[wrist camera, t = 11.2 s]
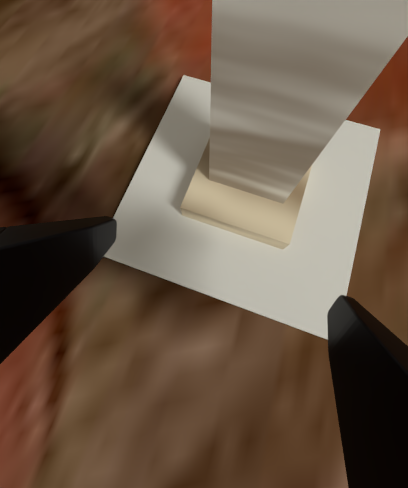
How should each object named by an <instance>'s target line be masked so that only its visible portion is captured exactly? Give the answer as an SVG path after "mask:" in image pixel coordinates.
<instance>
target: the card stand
mask: <svg viewBox="0 0 408 488" xmlns="http://www.w3.org/2000/svg"><path fill="white" fill-rule="evenodd" d="M407 36H408V0H212V50H211V103H210V138H209V140H208V143H207V145H206V147H205V150H204V152H203V154H202V157H201V159H200V162H199V164H198V166H197V169H196V171H195V173H194V176H193V178H192V180H191V183H190V185H189V188H188V190H187V192H186V195H185V197H184V199H183V202H182V204H181V206H180V209H181V213H182V215H183V216H185V217H188V218H191V219H194V220H197V221H200V222H203V223H206V224H209V225H212V226H215V227H218V228H221V229H224V230H227V231H229V232H232V233H235V234H238V235H241V236H244V237H247V238H250V239H253V240H256V241H259V242H262V243H265V244H268V245H271V246H274V247H276V248H279V249H282V250H283V249H284V248H286V247H287V246H288V245H290V242H291V238H292V235H293V231H294V227H295V224H296V220H297V217H298V213H299V210H300V206H301V203H302V199H303V195H304V192H305V188H306V185H307V181H308V178H309V174H310V171H311V167H312V164H313V163H314V162H315V160H316V159H317V157H318V156H319V155H320V153H321V152H322V151H323V149H324V148H325V147H326V145H327V144H328V143H329V141H330V140H331V139H332V137H333V136H334V135H335V133H336V132H337V131H338V129H339V128H340V126H341V125H342V124H343V122H344V121H345V120H346V118H347V117H348V116H349V114H350V113H351V112H352V110H353V109H354V108H355V106H356V105H357V104H358V102H359V101H360V100H361V98H362V97H363V95H364V94H365V93H366V91H367V90H368V89H369V87H370V86H371V85H372V83H373V82H374V81H375V79H376V78H377V77H378V75H379V74H380V73H381V71H382V70H383V69H384V67H385V66H386V64H387V63H388V62H389V60H390V59H391V58H392V56H393V55H394V54H395V52H396V51H397V50H398V48H399V47H400V46H401V44H402V43H403V42H404V40H405V39H406V38H407Z"/></svg>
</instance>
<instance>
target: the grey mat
mask: <svg viewBox="0 0 408 488" xmlns="http://www.w3.org/2000/svg"><path fill="white" fill-rule="evenodd" d="M210 103H211V83H210V82H206V81H203V80H199V79H196V78H192V77H188V76H185V75H183V78H182V80H181V82H180V84H179V86H178V88H177V90H176V92H175V94H174V96H173V98H172V100H171V102H170V104H169V106H168V108H167V110H166V112H165V114H164V116H163V118H162V120H161V122H160V124H159V126H158V128H157V130H156V132H155V134H154V136H153V138H152V140H151V142H150V144H149V146H148V148H147V150H146V152H145V154H144V156H143V158H142V161H141V163H140V165H139V167H138V169H137V171H136V173H135V175H134V177H133V179H132V181H131V183H130V185H129V187H128V189H127V191H126V193H125V195H124V197H123V199H122V201H121V203H120V205H119V207H118V209H117V211H116V213H115V215H114V217H113V218H114V219H115V220H116V221H117V233H116V240H115V242H114V244H113V245H112V246H111V247H110V249H109V250H108V251H107V253H106V254H105V255H104V256H103V257H106V258H109V259H112V260H114V261H117V262H120V263H122V264H125V265H128V266H130V267H133V268H136V269H138V270H141V271H144V272H147V273H149V274H152V275H155V276H157V277H160V278H163V279H165V280H168V281H171V282H173V283H176V284H179V285H182V286H184V287H187V288H190V289H192V290H195V291H198V292H200V293H203V294H206V295H208V296H211V297H214V298H217V299H219V300H222V301H225V302H227V303H230V304H233V305H235V306H238V307H241V308H243V309H246V310H249V311H252V312H254V313H257V314H260V315H262V316H265V317H268V318H270V319H273V320H276V321H278V322H281V323H284V324H287V325H289V326H292V327H295V328H297V329H300V330H303V331H305V332H308V333H311V334H313V335H316V336H319V337H322V338H324V339H327V340H328V325H327V314H328V311H329V309H330V308H331V306H332V305H333V303H334V302H335V301H336V299H337V298H338V297H339V296H340V295H345V296H346V295H347V290H348V285H349V280H350V275H351V271H352V266H353V261H354V256H355V251H356V246H357V241H358V236H359V231H360V226H361V222H362V217H363V212H364V207H365V202H366V197H367V192H368V187H369V182H370V177H371V173H372V168H373V163H374V158H375V153H376V148H377V143H378V138H379V133H380V129H377V128H373V127H370V126H366V125H362V124H359V123H355V122H351V121H348V120H345V121H344V122H343V124H342V125H341V126H340V128H339V129H338V131H337V132H336V133H335V135H334V136H333V137H332V139H331V140H330V141H329V143H328V144H327V145H326V147H325V148H324V149H323V151H322V152H321V153H320V155H319V156H318V157H317V159H316V160H315V162H314V163H313V164H312V167H311V171H310V174H309V178H308V181H307V185H306V188H305V192H304V195H303V199H302V203H301V206H300V210H299V213H298V217H297V220H296V224H295V227H294V231H293V235H292V238H291V242H290V245H288V246H287V247H286V248H284V249H283V250H282V249H279V248H276V247H274V246H271V245H268V244H265V243H262V242H259V241H256V240H253V239H250V238H247V237H244V236H241V235H238V234H235V233H232V232H229V231H227V230H224V229H221V228H218V227H215V226H212V225H209V224H206V223H203V222H200V221H197V220H194V219H191V218H188V217H185V216H183V215H182V213H181V209H180V206H181V204H182V202H183V199H184V197H185V195H186V192H187V190H188V188H189V185H190V183H191V180H192V178H193V176H194V173H195V171H196V169H197V166H198V164H199V162H200V159H201V157H202V154H203V152H204V150H205V147H206V145H207V143H208V140H209V138H210Z"/></svg>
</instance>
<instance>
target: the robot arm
mask: <svg viewBox="0 0 408 488" xmlns="http://www.w3.org/2000/svg"><path fill="white" fill-rule="evenodd" d="M116 233H117V221H116V220H115V219H114V218H111V217H108V216H103V217H94V218H85V219H75V220H66V221H57V222H47V223H38V224H29V225H20V226H10V227H1V228H0V364H1V363H2V362H3V361H4V360H5V359H6V358H7V357H8V356H9V355H10V354H11V353H12V352H13V351H14V350H15V349H16V348H17V347H18V345H19V344H20V343H21V342H22V341H23V340H24V339H25V338H26V337H27V336H28V335H29V334H30V333H31V332H32V331H33V330H34V329H35V328H36V327H37V326H38V325H39V324H40V323H41V322H42V321H43V320H44V319H45V318H46V317H47V316H48V315H49V314H50V313H51V312H52V311H53V310H54V309H55V308H56V307H57V306H58V305H59V304H60V303H61V302H62V301H63V300H64V299H65V298H66V297H67V296H68V295H69V294H70V293H71V291H72V290H73V289H74V288H75V287H76V286H77V285H78V284H79V283H80V282H81V281H82V280H83V279H84V278H85V277H86V276H87V275H88V274H89V273H90V272H91V271H92V270H93V269H94V268H95V267H96V265H97V264H98V263H99V262H100V260H101V259H102V258H103V256H104V255H105V254H106V253H107V251H108V250H109V249H110V247H111V246H112V245H113V244H114V242H115V240H116ZM327 325H328V352H329V361H330V367H331V374H332V380H333V387H334V394H335V400H336V407H337V414H338V420H339V427H340V433H341V440H342V447H343V453H344V460H345V467H346V473H347V480H348V486H349V488H408V346H407V345H406V344H405V343H403V342H402V341H401V340H400V339H399V338H398V337H397V336H396V335H394V334H393V333H392V332H391V331H390V330H389V329H388V328H386V327H385V326H384V325H383V324H382V323H381V322H380V321H378V320H377V319H376V318H375V317H374V316H373V315H372V314H371V313H369V312H368V311H367V310H366V309H365V308H364V307H363V306H361V305H360V304H359V303H358V302H357V301H356V300H355V299H353V298H351V297H348V296H345V295H340V296H339V297H338V298H337V299H336V301H335V302H334V303H333V305H332V306H331V308H330V309H329V311H328V314H327Z"/></svg>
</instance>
